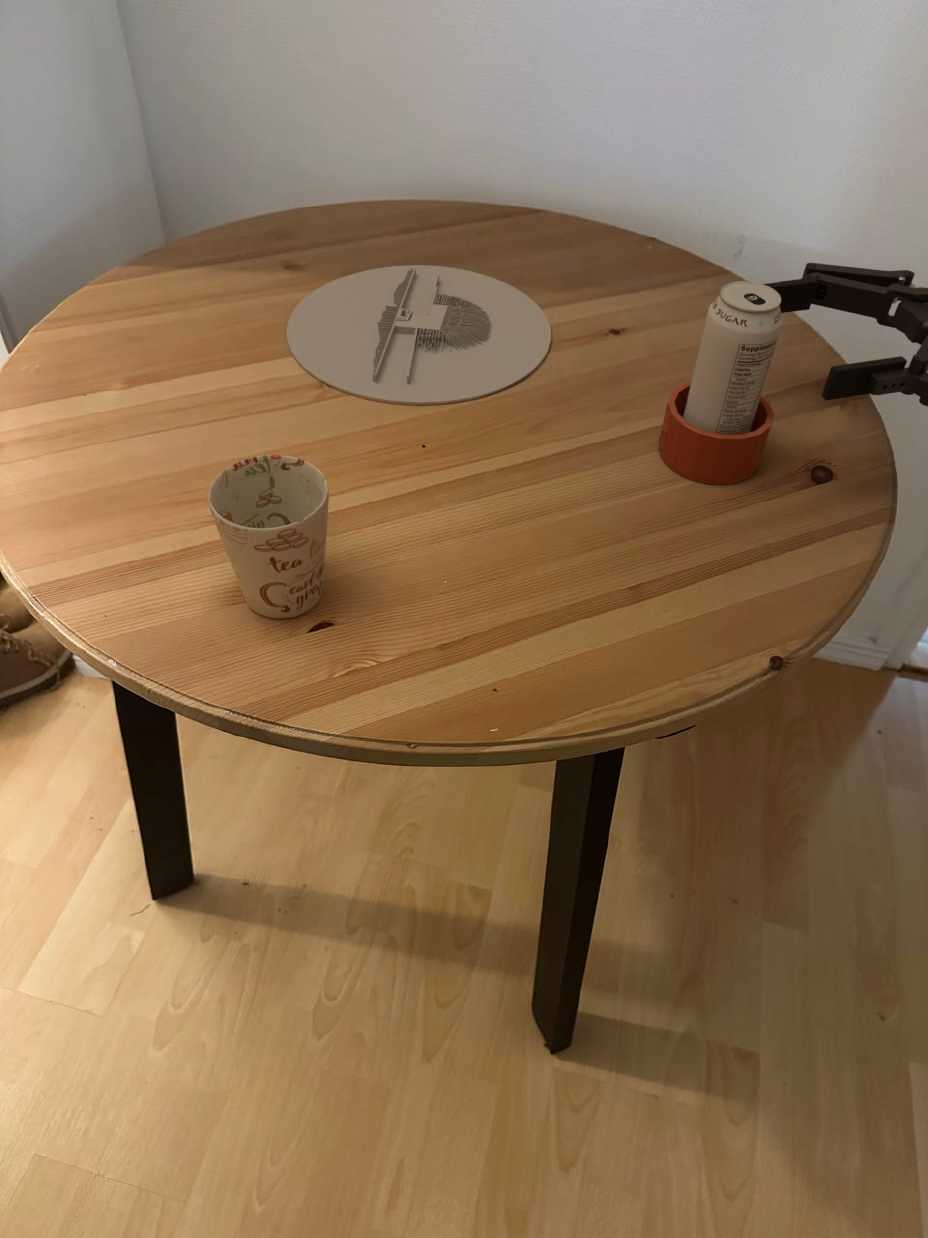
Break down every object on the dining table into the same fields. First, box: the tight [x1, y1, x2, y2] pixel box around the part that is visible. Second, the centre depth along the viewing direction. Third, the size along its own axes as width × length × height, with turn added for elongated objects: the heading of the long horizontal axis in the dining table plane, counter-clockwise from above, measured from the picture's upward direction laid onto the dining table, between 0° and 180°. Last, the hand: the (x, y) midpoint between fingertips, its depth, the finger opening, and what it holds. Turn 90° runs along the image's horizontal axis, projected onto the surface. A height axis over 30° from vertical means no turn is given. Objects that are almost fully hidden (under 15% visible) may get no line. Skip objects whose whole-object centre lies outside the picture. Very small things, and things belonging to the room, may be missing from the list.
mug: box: [207, 454, 330, 620], centre depth 72 cm, size 8×13×10 cm, turn 14°
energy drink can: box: [683, 280, 784, 435], centre depth 82 cm, size 6×6×15 cm
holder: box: [658, 380, 775, 486], centre depth 86 cm, size 9×9×5 cm
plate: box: [286, 264, 552, 406], centre depth 101 cm, size 28×28×1 cm
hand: (785, 340), depth 81 cm, fingers open, 13 cm apart
